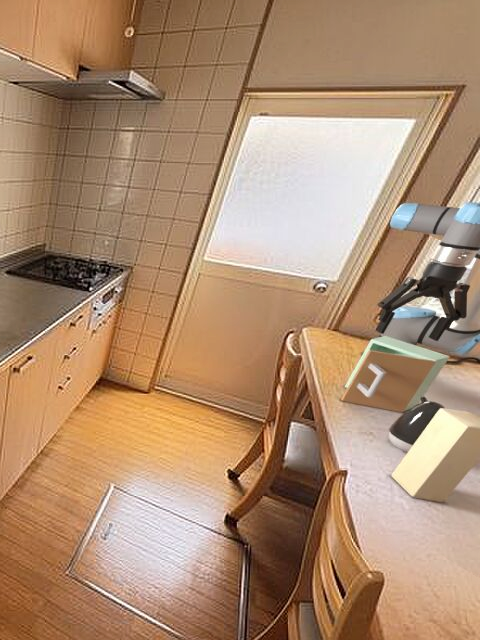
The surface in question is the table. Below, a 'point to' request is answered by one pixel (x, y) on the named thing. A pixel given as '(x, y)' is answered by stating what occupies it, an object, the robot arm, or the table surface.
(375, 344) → the box
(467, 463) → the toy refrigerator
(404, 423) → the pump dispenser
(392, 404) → the cooler door
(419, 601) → the table surface
